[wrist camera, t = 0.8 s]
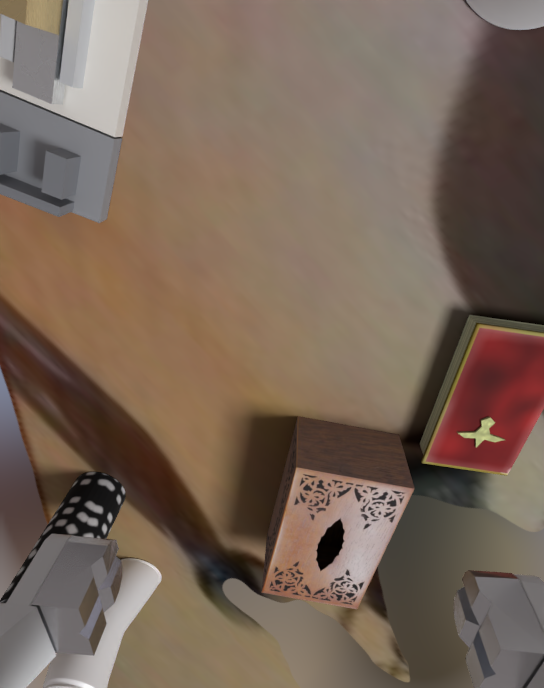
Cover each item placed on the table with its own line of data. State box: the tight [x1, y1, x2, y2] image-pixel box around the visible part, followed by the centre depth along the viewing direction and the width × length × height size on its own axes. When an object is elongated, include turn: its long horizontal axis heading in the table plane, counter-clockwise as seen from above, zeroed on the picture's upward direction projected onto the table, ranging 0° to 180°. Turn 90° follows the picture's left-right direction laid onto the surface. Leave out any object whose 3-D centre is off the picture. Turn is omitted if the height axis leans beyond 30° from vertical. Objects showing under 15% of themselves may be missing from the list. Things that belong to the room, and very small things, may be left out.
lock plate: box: [0, 0, 148, 223], centre depth 40 cm, size 22×14×5 cm, turn 159°
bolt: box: [0, 0, 69, 105], centre depth 35 cm, size 10×4×7 cm, turn 159°
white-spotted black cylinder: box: [0, 472, 125, 603], centre depth 61 cm, size 8×8×20 cm
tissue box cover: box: [262, 416, 414, 609], centre depth 61 cm, size 26×14×10 cm, turn 170°
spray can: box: [43, 558, 162, 688], centre depth 68 cm, size 12×11×25 cm
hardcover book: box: [420, 315, 544, 476], centre depth 54 cm, size 12×21×4 cm, turn 173°
